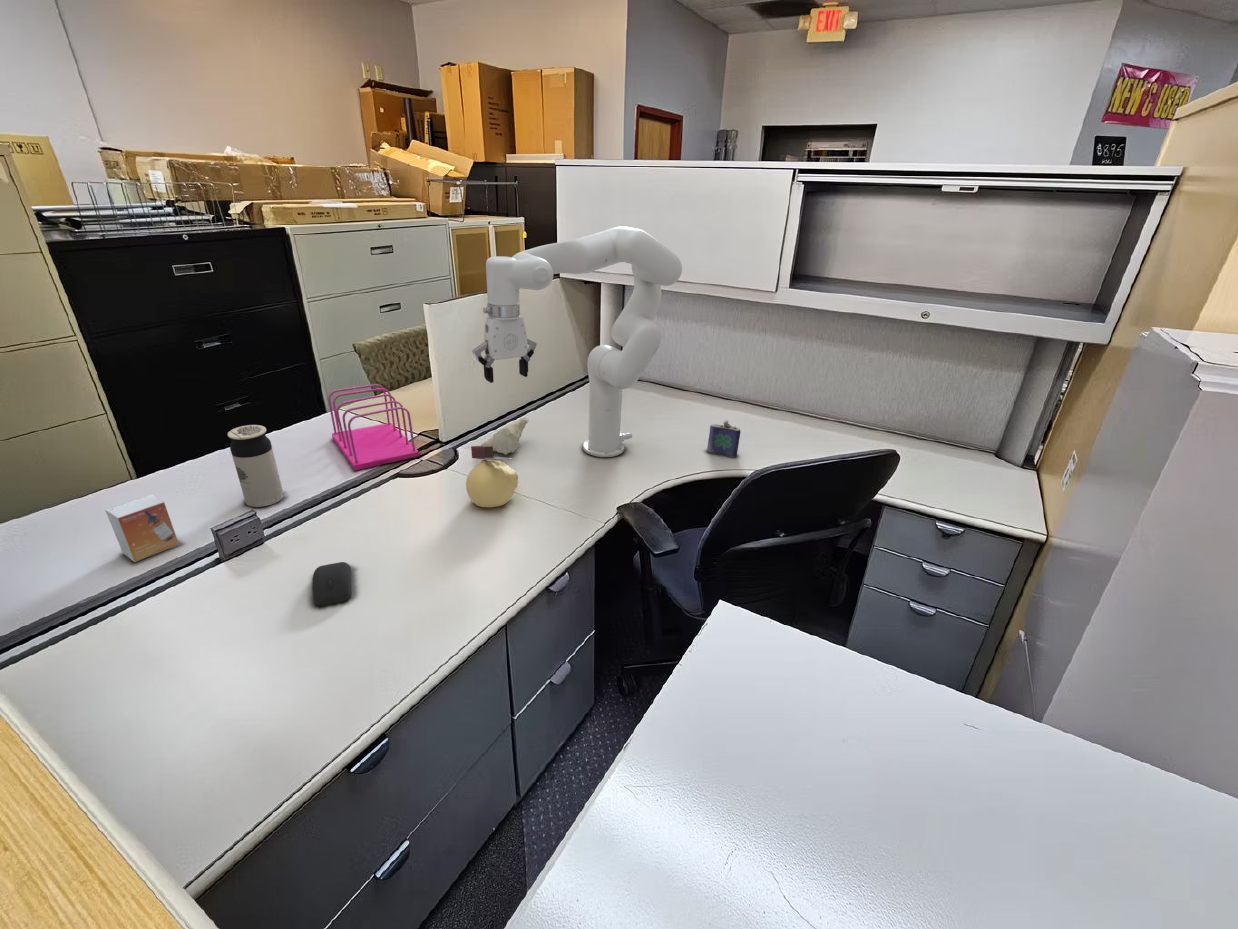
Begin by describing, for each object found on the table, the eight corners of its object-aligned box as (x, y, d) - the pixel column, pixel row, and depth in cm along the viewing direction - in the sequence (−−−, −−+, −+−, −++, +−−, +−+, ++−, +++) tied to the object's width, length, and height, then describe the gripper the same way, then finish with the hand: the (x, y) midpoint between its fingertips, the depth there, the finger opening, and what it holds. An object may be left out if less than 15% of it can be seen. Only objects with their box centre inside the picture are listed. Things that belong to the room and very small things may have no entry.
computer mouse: (314, 608, 102) (309, 591, 100) (316, 572, 111) (312, 556, 109) (351, 601, 104) (348, 584, 103) (351, 566, 114) (347, 550, 112)
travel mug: (278, 488, 140) (261, 421, 132) (288, 500, 135) (271, 432, 127) (241, 498, 135) (221, 429, 127) (251, 511, 130) (231, 441, 122)
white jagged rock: (489, 469, 159) (529, 438, 157) (473, 449, 158) (513, 417, 156) (503, 462, 174) (540, 433, 172) (488, 443, 173) (526, 414, 171)
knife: (471, 458, 140) (470, 446, 140) (480, 457, 142) (479, 445, 141) (503, 460, 126) (502, 447, 126) (513, 459, 127) (512, 446, 127)
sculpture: (525, 501, 140) (524, 462, 135) (485, 518, 132) (483, 478, 127) (498, 484, 147) (496, 447, 142) (458, 500, 139) (455, 461, 134)
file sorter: (355, 471, 150) (345, 417, 143) (332, 438, 167) (322, 388, 160) (419, 457, 159) (413, 405, 152) (391, 427, 177) (385, 379, 170)
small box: (134, 563, 111) (116, 518, 106) (122, 553, 114) (103, 509, 109) (180, 544, 117) (164, 501, 113) (167, 536, 120) (151, 493, 115)
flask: (706, 452, 172) (710, 420, 167) (707, 449, 174) (712, 417, 169) (736, 458, 169) (741, 425, 164) (737, 454, 172) (742, 422, 167)
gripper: (477, 317, 128) (482, 387, 136) (542, 310, 138) (543, 377, 146) (464, 310, 134) (469, 379, 141) (527, 305, 143) (529, 369, 151)
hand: (506, 378), depth 144 cm, fingers open, 9 cm apart
